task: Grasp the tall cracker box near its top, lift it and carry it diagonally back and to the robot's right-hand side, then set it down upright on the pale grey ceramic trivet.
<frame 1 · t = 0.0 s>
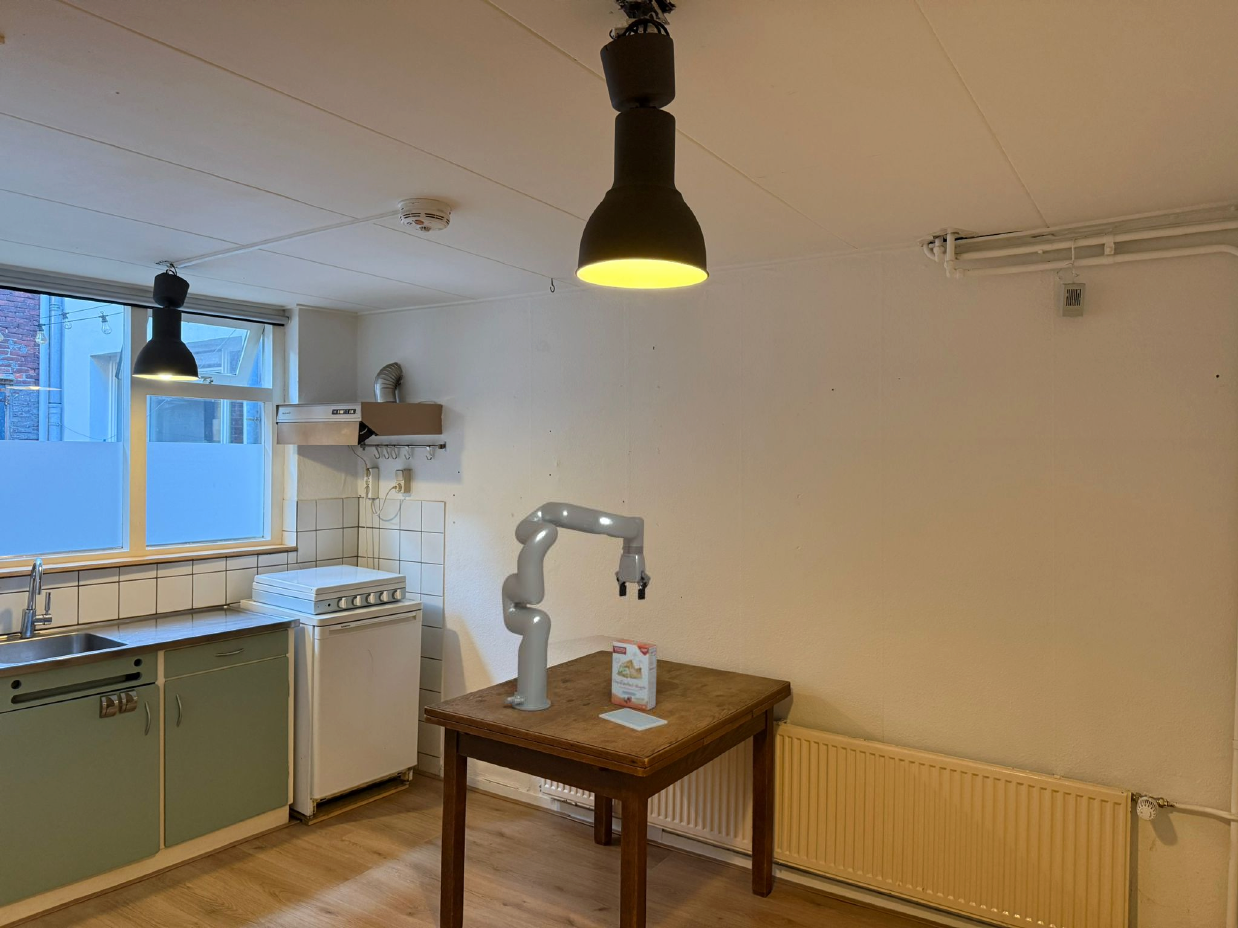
hand: (631, 597, 300), 31 cm above the table, fingers open, 9 cm apart
cracker box: (633, 706, 272), on the table
trivet: (632, 719, 256), on the table
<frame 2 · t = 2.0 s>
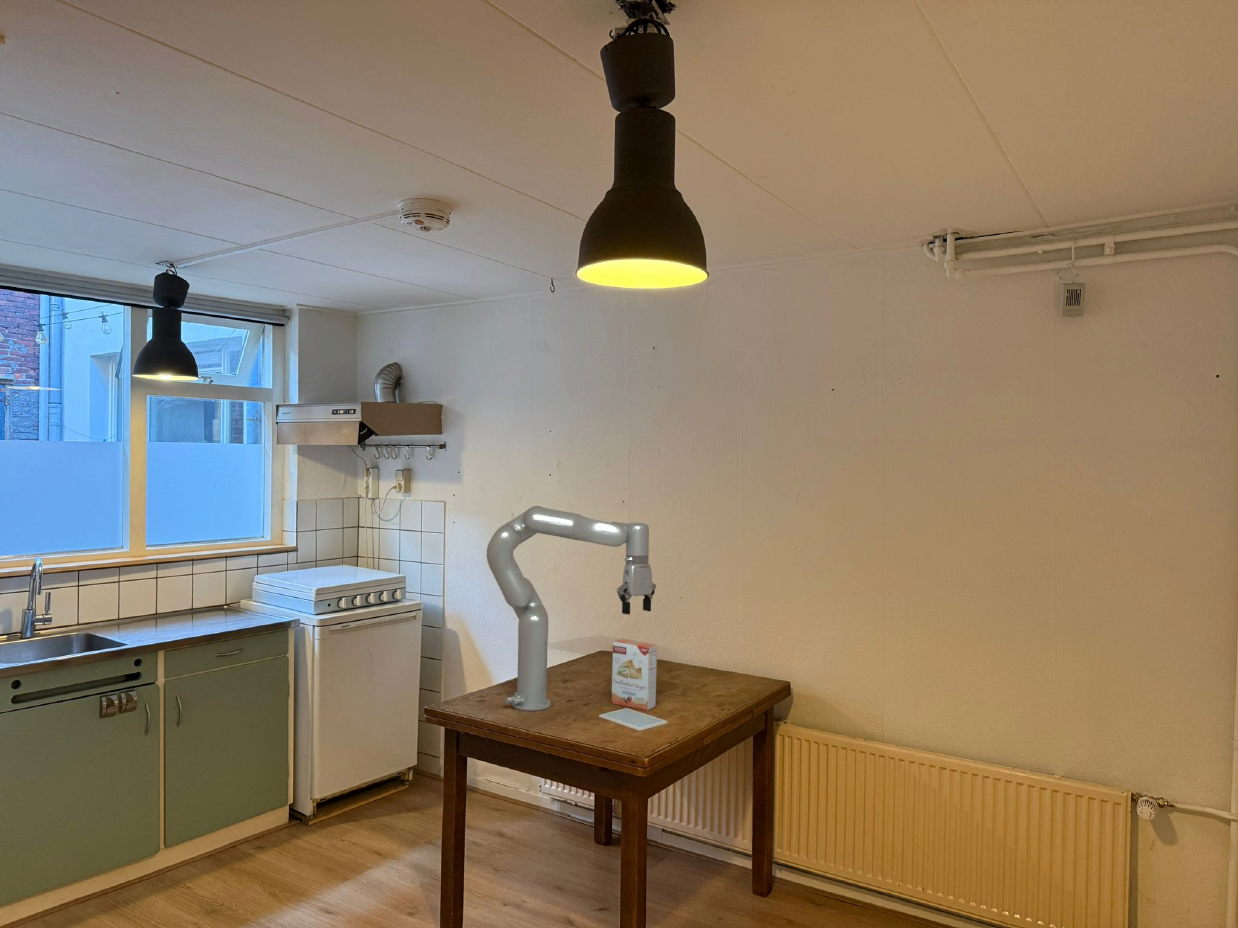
hand: (636, 612, 272), 31 cm above the table, fingers open, 9 cm apart
nothing on the table moved.
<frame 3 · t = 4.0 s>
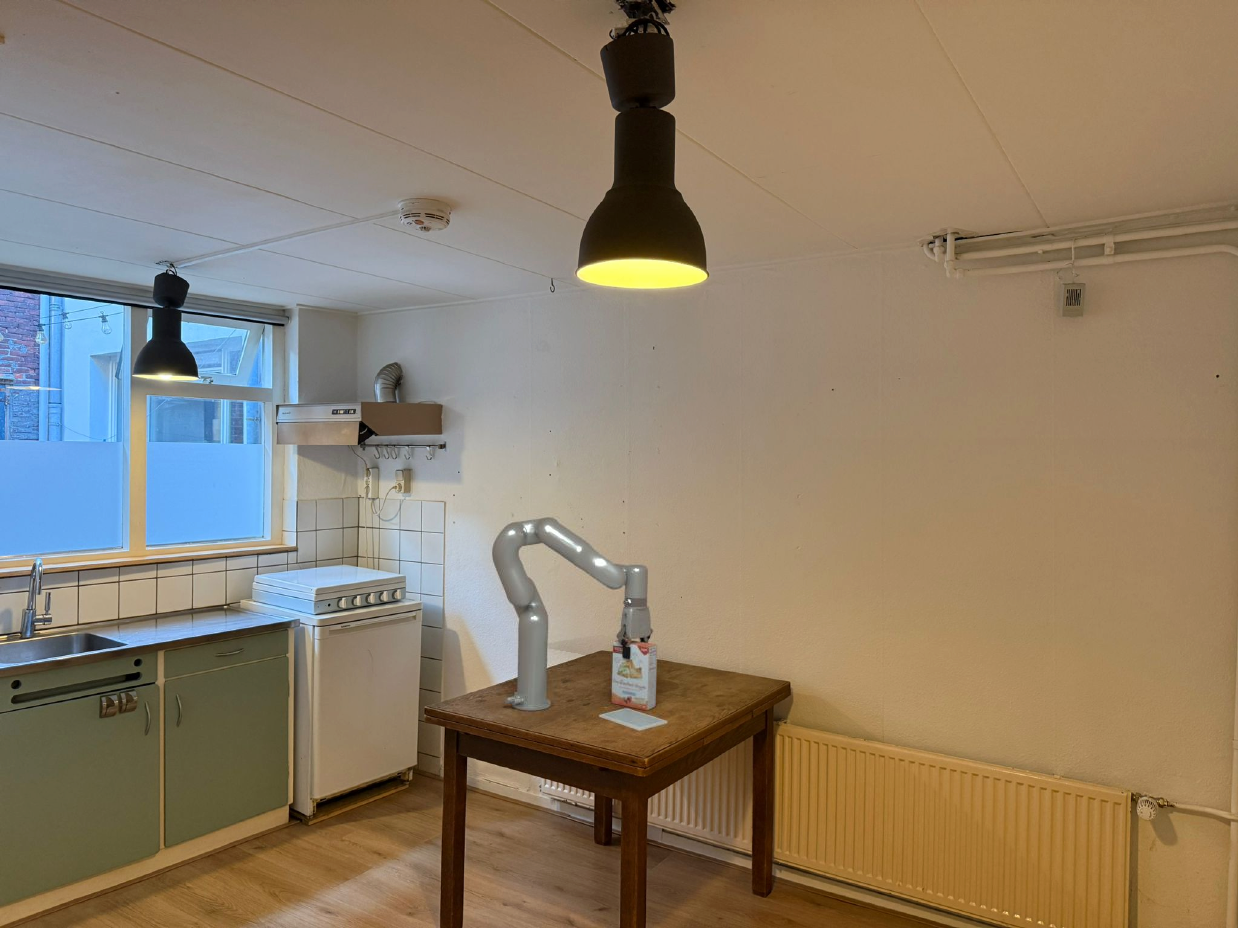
hand: (634, 656, 272), 16 cm above the table, fingers closed on cracker box, 6 cm apart
cracker box: (633, 706, 272), on the table, touching gripper
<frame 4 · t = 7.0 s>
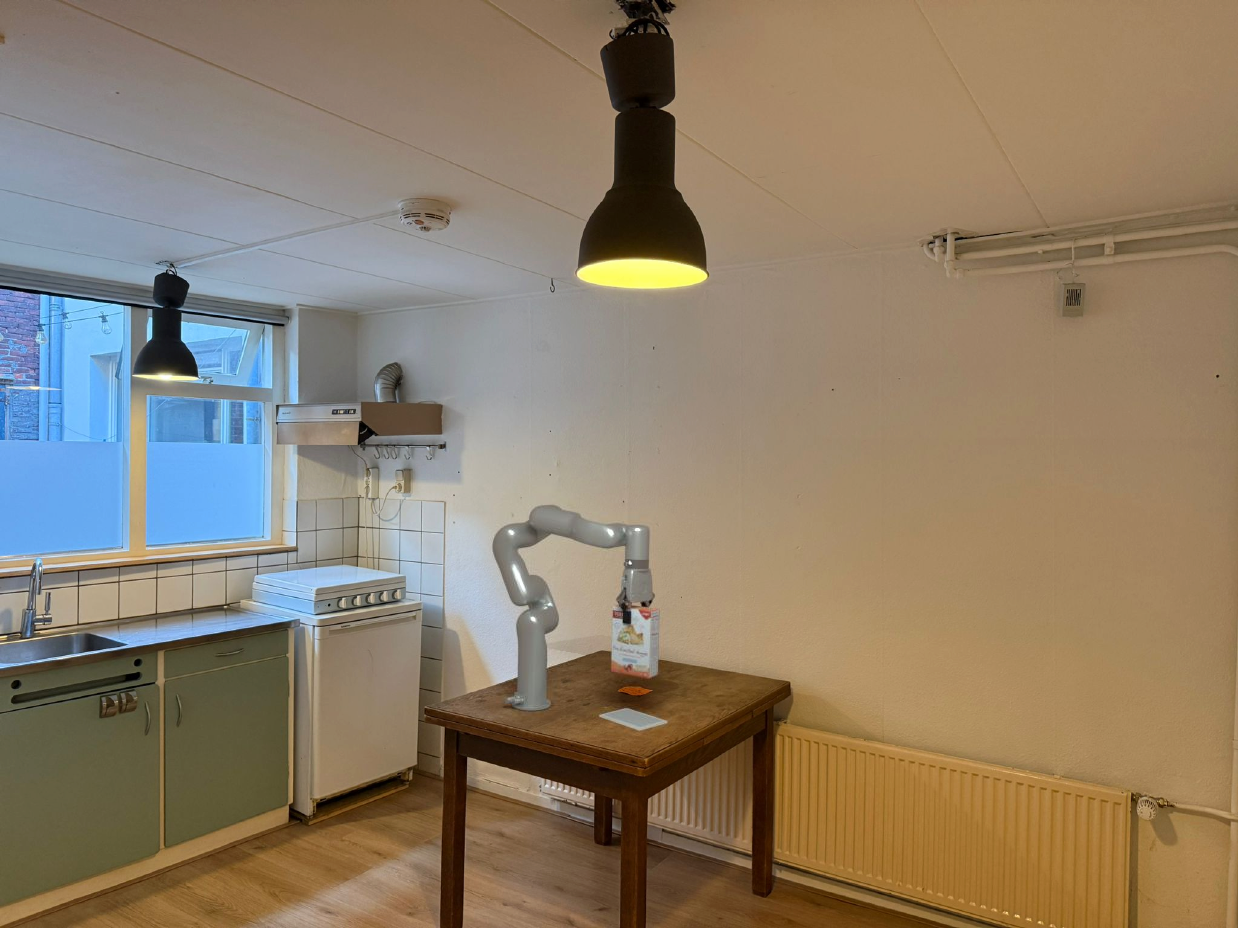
hand: (635, 621, 257), 30 cm above the table, fingers closed on cracker box, 6 cm apart
cracker box: (634, 674, 256), point 14 cm above the table, touching gripper
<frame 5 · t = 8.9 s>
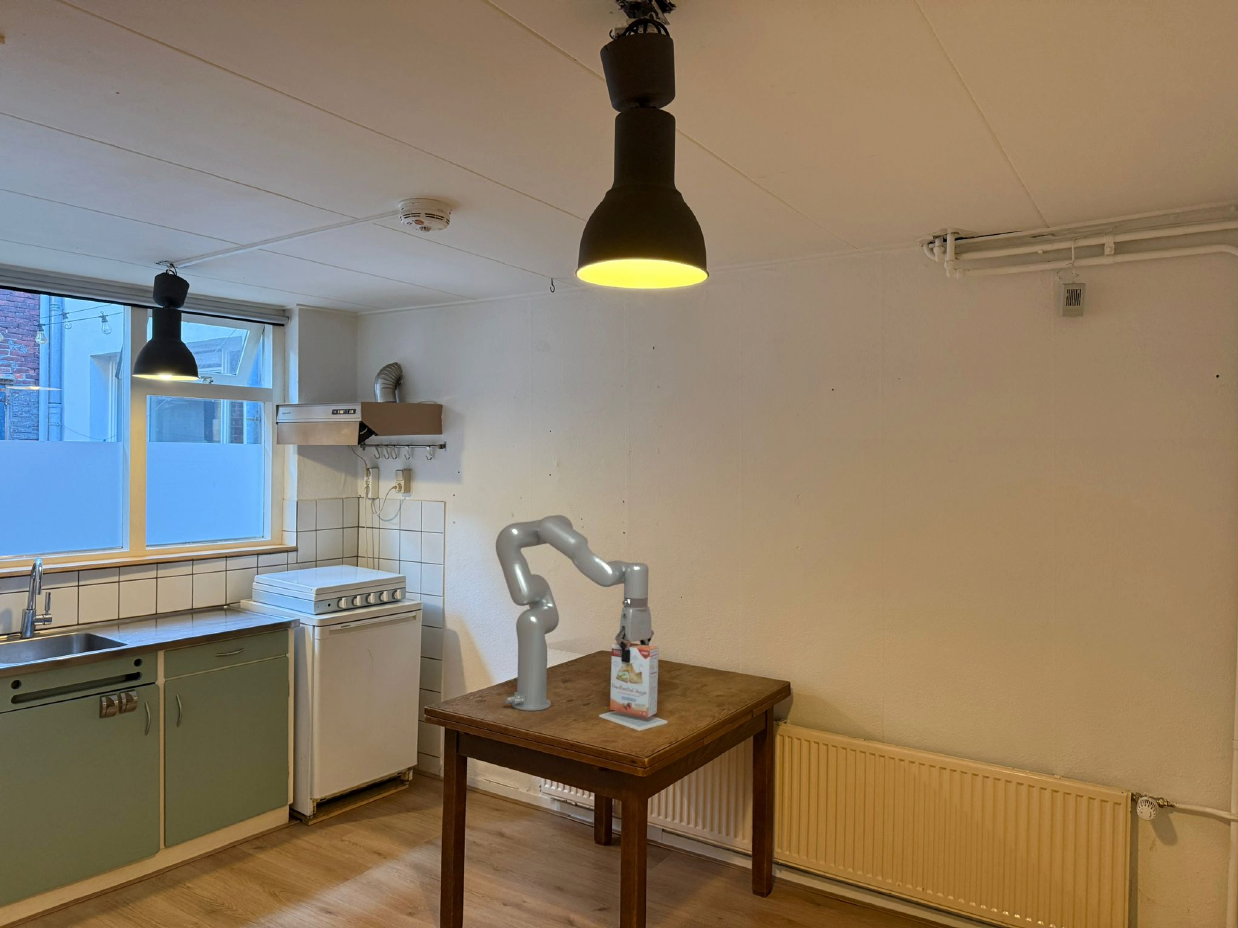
hand: (634, 659, 256), 19 cm above the table, fingers closed on cracker box, 6 cm apart
cracker box: (633, 712, 256), point 2 cm above the table, touching gripper
when the fingers open (18 cm above the table, at t = 10.1 s): cracker box stays where it is, resting on trivet.
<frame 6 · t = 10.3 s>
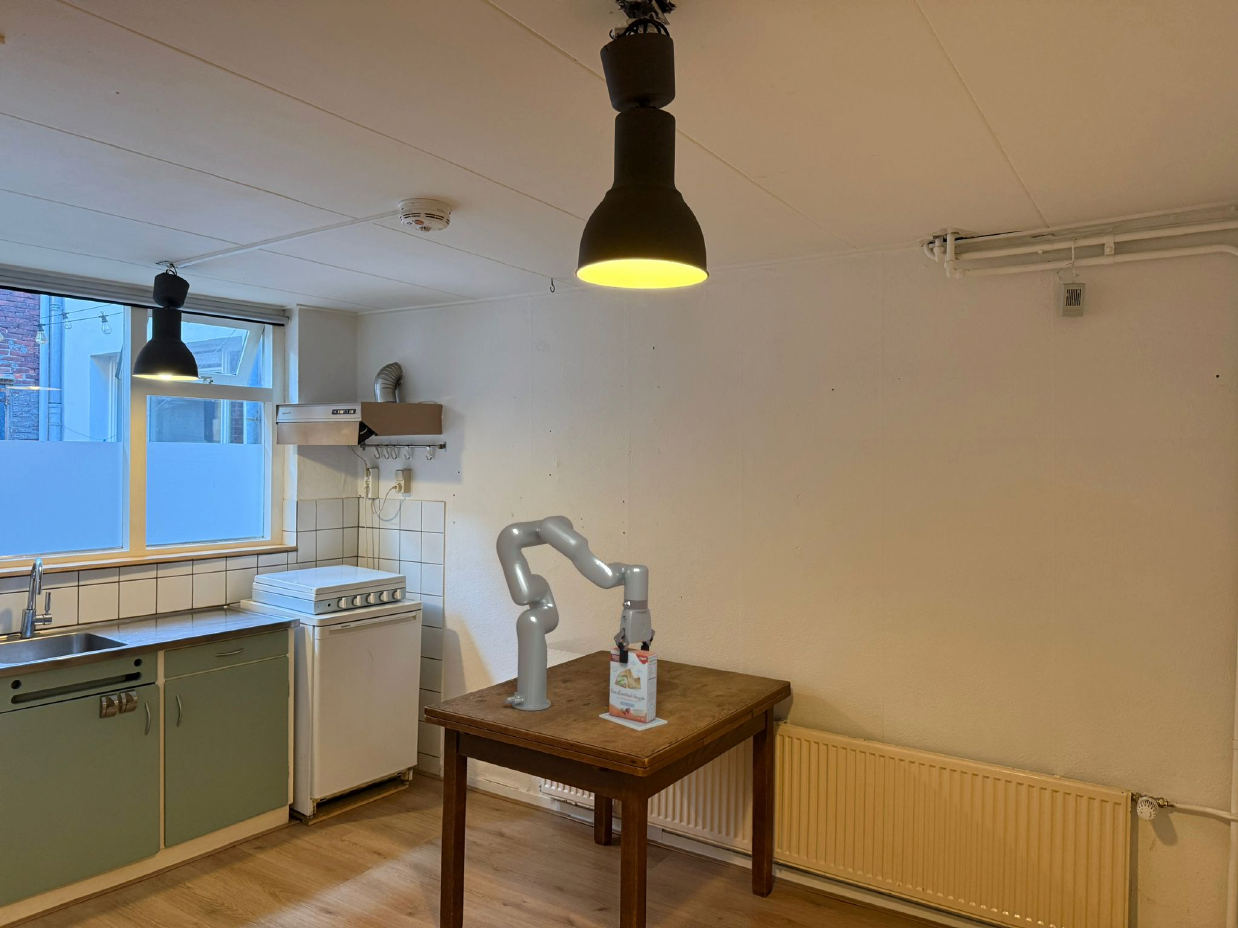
hand: (634, 660, 256), 18 cm above the table, fingers open, 8 cm apart
cracker box: (632, 718, 256), resting on trivet
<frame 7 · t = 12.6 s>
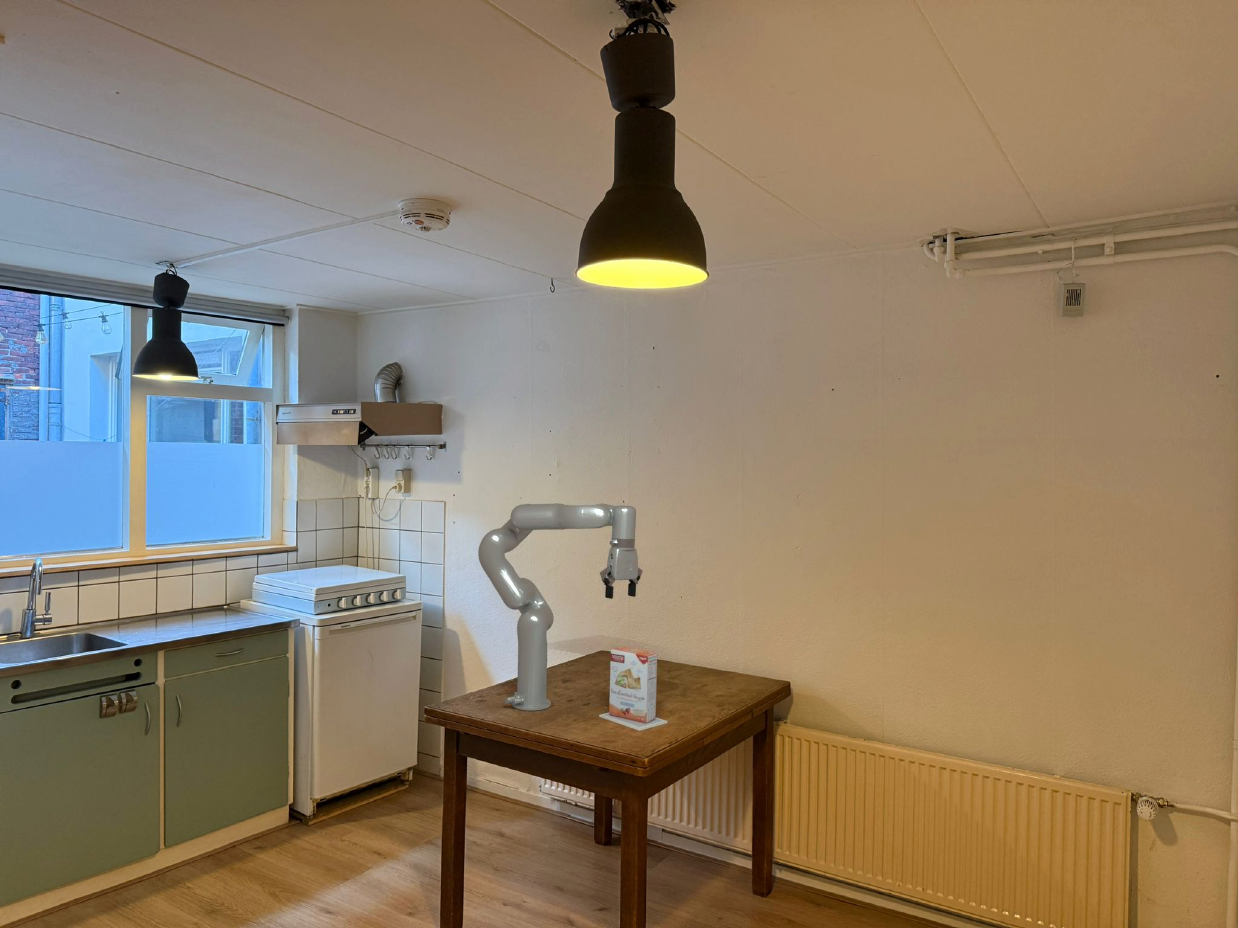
hand: (620, 597, 265), 37 cm above the table, fingers open, 9 cm apart
nothing on the table moved.
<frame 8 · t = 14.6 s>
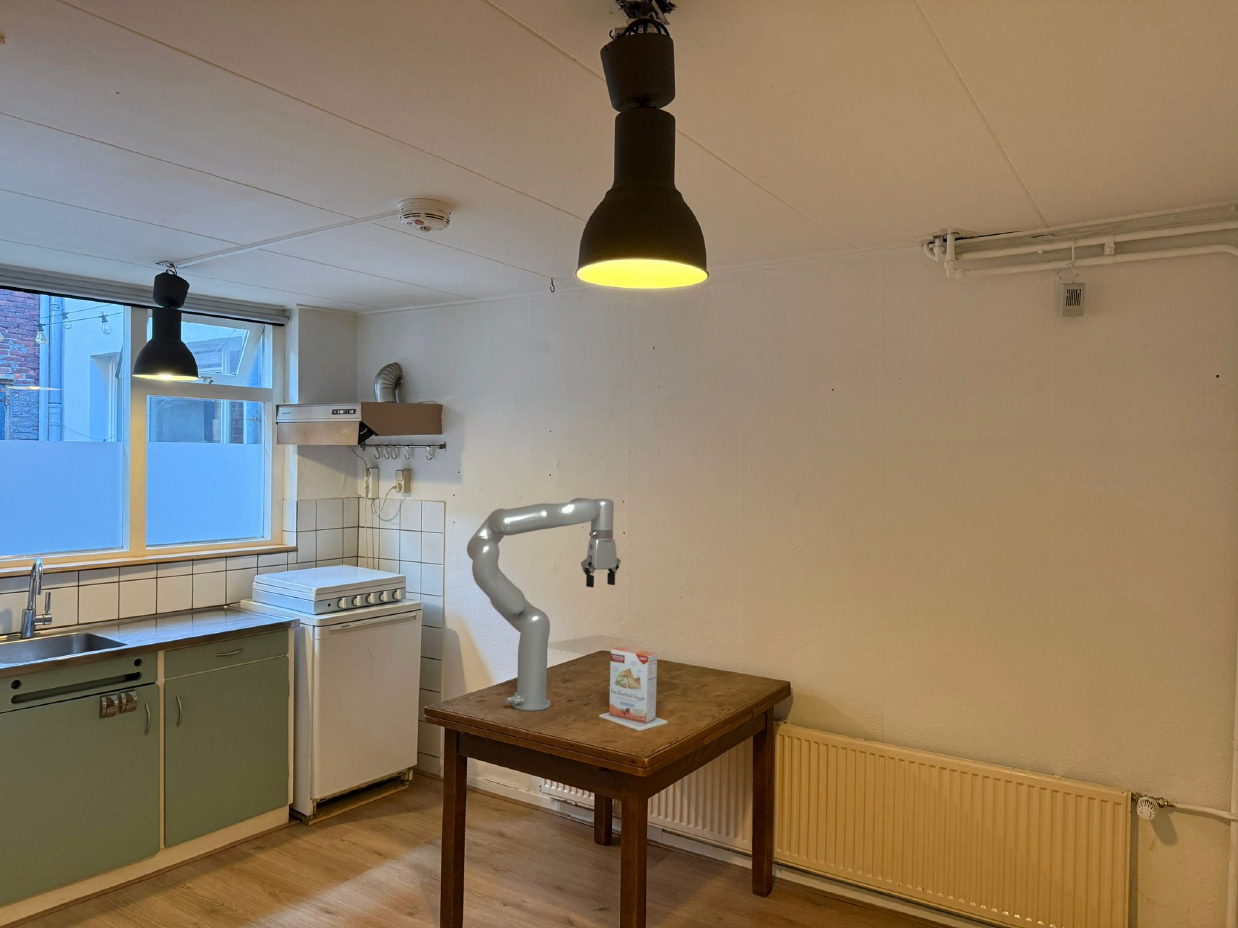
hand: (600, 585, 279), 38 cm above the table, fingers open, 9 cm apart
nothing on the table moved.
at the end: cracker box 0.3 cm from the trivet (horizontally); cracker box tilted 0°; the gripper is holding nothing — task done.
